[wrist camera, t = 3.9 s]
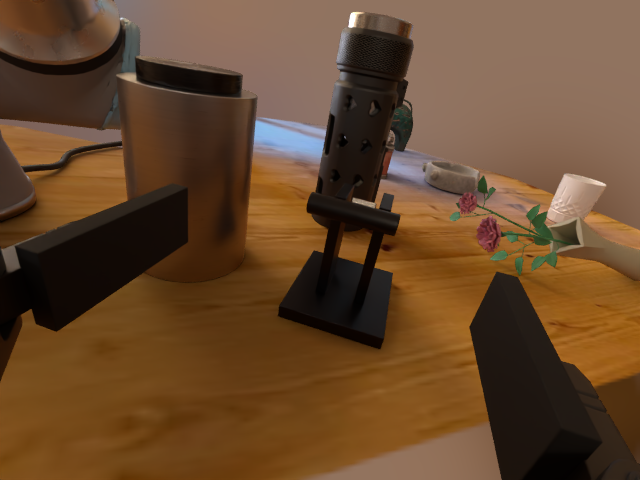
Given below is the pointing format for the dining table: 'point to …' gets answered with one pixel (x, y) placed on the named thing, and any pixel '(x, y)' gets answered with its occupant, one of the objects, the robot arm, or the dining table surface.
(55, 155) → the dining table surface
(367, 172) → the muzzle brake
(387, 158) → the lighter
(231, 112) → the metal tumbler
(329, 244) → the switch base
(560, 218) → the white cup
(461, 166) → the dish
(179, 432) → the dining table surface
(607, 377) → the dining table surface
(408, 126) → the ceramic cat
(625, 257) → the flower vase
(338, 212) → the switch lever
